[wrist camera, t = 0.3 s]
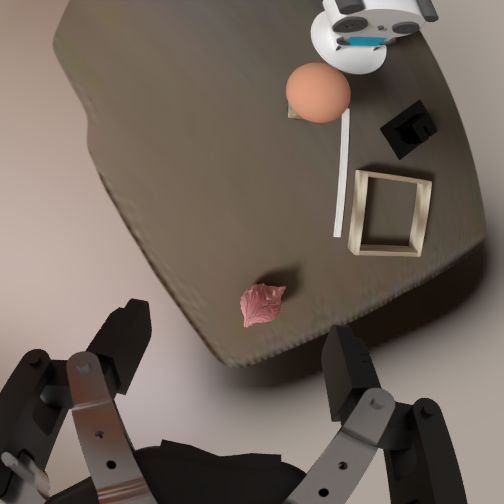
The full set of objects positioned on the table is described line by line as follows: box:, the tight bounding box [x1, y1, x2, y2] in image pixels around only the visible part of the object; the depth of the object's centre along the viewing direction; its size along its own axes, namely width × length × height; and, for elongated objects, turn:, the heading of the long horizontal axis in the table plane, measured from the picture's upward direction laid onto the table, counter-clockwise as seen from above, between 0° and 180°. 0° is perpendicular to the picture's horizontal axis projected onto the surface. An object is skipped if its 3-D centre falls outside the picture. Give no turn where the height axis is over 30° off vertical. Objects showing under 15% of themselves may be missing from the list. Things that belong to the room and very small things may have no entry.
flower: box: [240, 283, 286, 328], centre depth 39 cm, size 8×8×6 cm
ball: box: [286, 62, 351, 123], centre depth 23 cm, size 6×6×6 cm
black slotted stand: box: [380, 100, 437, 160], centre depth 32 cm, size 12×7×5 cm, turn 129°
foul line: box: [334, 108, 350, 237], centre depth 36 cm, size 18×1×1 cm, turn 178°
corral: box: [348, 170, 432, 257], centre depth 36 cm, size 11×11×3 cm
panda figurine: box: [311, 0, 438, 74], centre depth 22 cm, size 12×11×15 cm
